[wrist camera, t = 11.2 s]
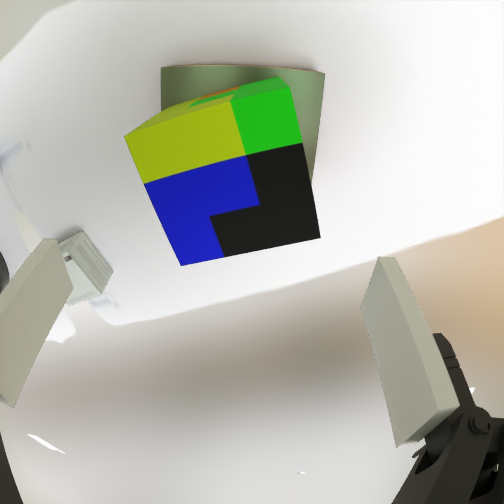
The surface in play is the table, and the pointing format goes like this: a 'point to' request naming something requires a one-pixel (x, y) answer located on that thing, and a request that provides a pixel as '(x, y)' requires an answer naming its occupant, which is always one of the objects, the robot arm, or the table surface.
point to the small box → (84, 268)
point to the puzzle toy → (228, 172)
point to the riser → (228, 76)
